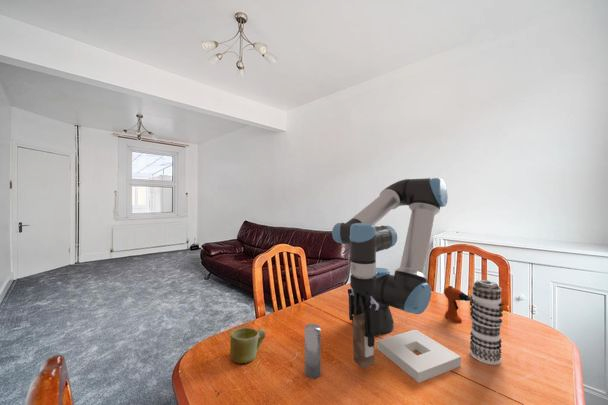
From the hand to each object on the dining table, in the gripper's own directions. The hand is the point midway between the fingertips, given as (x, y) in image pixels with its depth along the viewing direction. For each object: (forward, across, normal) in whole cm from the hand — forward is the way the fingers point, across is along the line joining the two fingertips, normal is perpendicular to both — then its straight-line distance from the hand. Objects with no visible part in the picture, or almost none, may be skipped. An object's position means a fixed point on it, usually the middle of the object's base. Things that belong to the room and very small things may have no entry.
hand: (363, 350), depth 78 cm
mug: (+7, -23, -30) cm, 39 cm away
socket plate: (+7, +1, +20) cm, 22 cm away
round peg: (+7, -6, -14) cm, 17 cm away
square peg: (+4, 0, 0) cm, 4 cm away
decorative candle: (+8, +10, +42) cm, 43 cm away
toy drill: (+8, -8, +54) cm, 56 cm away
